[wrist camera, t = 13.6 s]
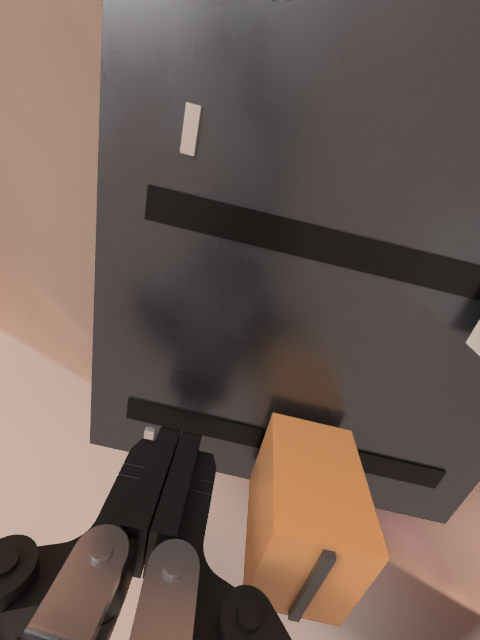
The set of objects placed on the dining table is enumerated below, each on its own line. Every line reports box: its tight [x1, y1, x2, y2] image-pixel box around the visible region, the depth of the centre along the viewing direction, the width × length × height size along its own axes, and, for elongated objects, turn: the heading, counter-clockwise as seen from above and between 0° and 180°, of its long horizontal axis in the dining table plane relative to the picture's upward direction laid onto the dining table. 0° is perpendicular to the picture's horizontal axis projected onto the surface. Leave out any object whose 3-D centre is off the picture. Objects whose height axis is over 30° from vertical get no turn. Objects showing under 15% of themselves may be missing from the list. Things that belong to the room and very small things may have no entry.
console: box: [90, 0, 480, 524], centre depth 12 cm, size 18×16×2 cm
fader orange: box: [243, 413, 390, 626], centre depth 11 cm, size 4×3×5 cm
